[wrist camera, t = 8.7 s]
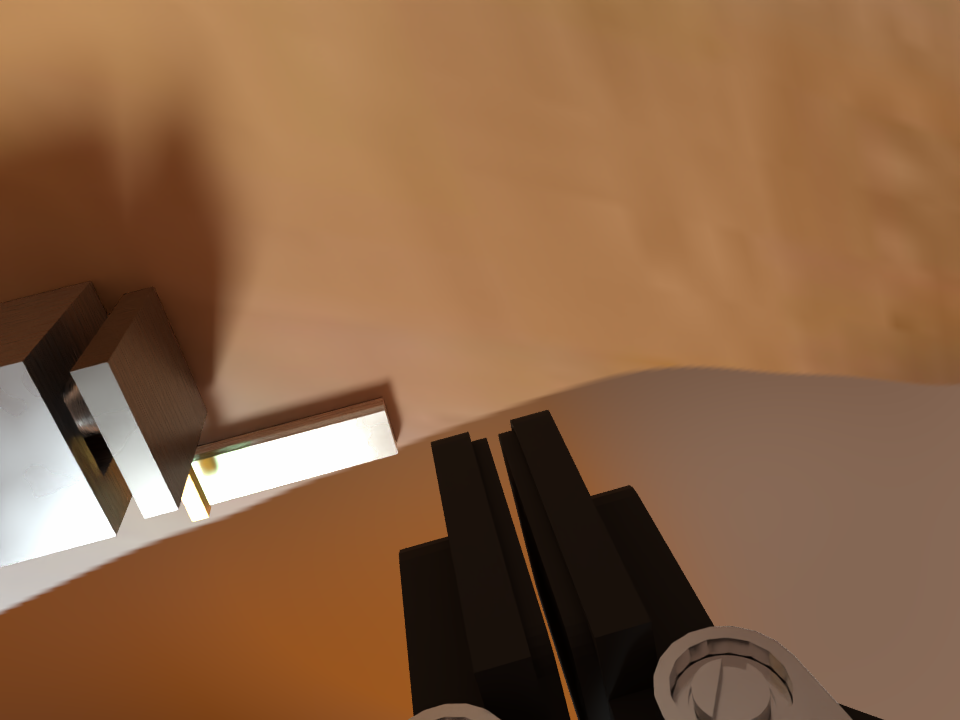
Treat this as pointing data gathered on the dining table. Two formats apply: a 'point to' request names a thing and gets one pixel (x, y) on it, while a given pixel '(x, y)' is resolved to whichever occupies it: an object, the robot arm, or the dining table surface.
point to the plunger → (142, 405)
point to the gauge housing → (88, 461)
